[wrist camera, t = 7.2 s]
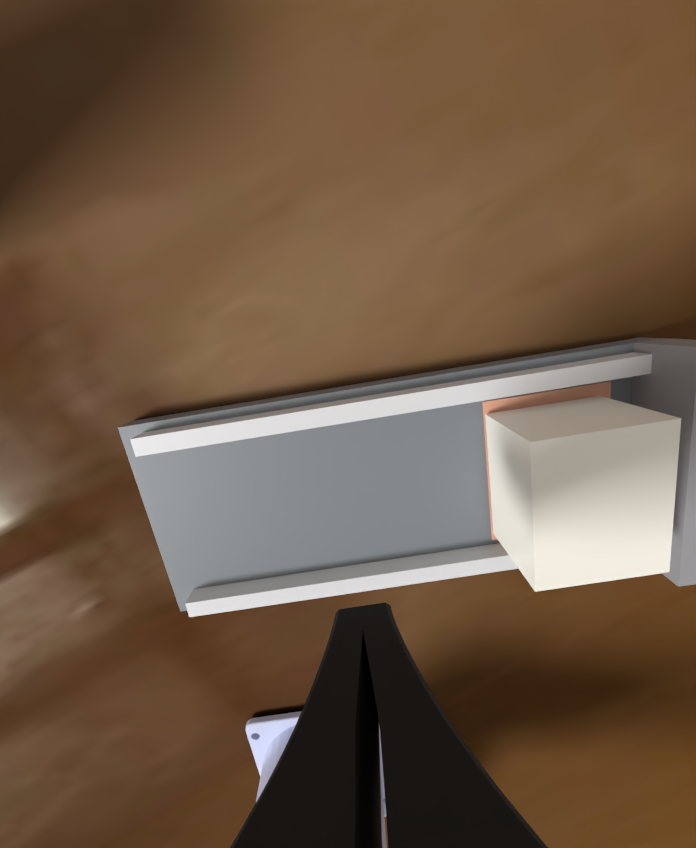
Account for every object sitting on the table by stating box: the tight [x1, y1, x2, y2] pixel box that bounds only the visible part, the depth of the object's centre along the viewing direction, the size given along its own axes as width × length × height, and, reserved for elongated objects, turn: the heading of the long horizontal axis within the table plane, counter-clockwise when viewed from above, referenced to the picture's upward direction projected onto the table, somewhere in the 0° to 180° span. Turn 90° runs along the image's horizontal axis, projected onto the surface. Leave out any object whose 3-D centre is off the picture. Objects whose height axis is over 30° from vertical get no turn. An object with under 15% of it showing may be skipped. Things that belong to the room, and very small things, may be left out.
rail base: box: [118, 337, 696, 617], centre depth 16 cm, size 10×24×4 cm, turn 99°
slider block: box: [485, 396, 681, 592], centre depth 15 cm, size 6×5×4 cm
